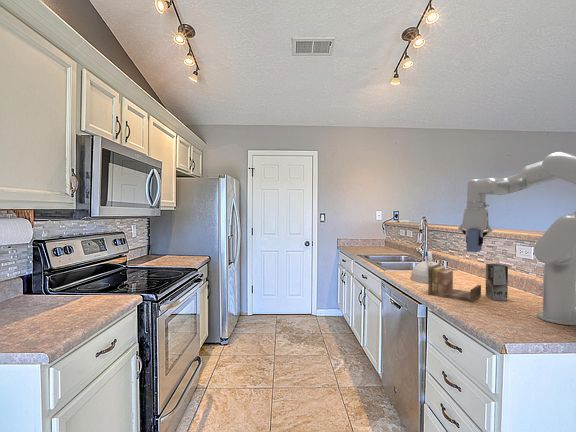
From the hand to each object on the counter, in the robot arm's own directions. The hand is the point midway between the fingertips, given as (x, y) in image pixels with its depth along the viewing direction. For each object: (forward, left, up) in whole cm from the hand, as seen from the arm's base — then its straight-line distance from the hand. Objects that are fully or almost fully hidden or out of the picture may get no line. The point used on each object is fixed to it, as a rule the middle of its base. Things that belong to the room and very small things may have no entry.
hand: (474, 244), depth 150 cm
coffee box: (-7, -11, -26) cm, 29 cm away
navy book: (0, 0, -3) cm, 3 cm away
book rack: (+9, -2, -26) cm, 28 cm away
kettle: (+31, -29, -26) cm, 50 cm away
